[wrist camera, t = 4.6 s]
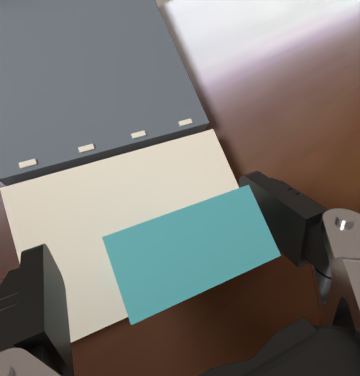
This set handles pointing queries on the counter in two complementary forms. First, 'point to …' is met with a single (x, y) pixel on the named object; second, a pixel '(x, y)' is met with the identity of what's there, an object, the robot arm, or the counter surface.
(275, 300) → the counter surface
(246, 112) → the counter surface
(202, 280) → the teal block on base
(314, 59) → the counter surface
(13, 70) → the board
